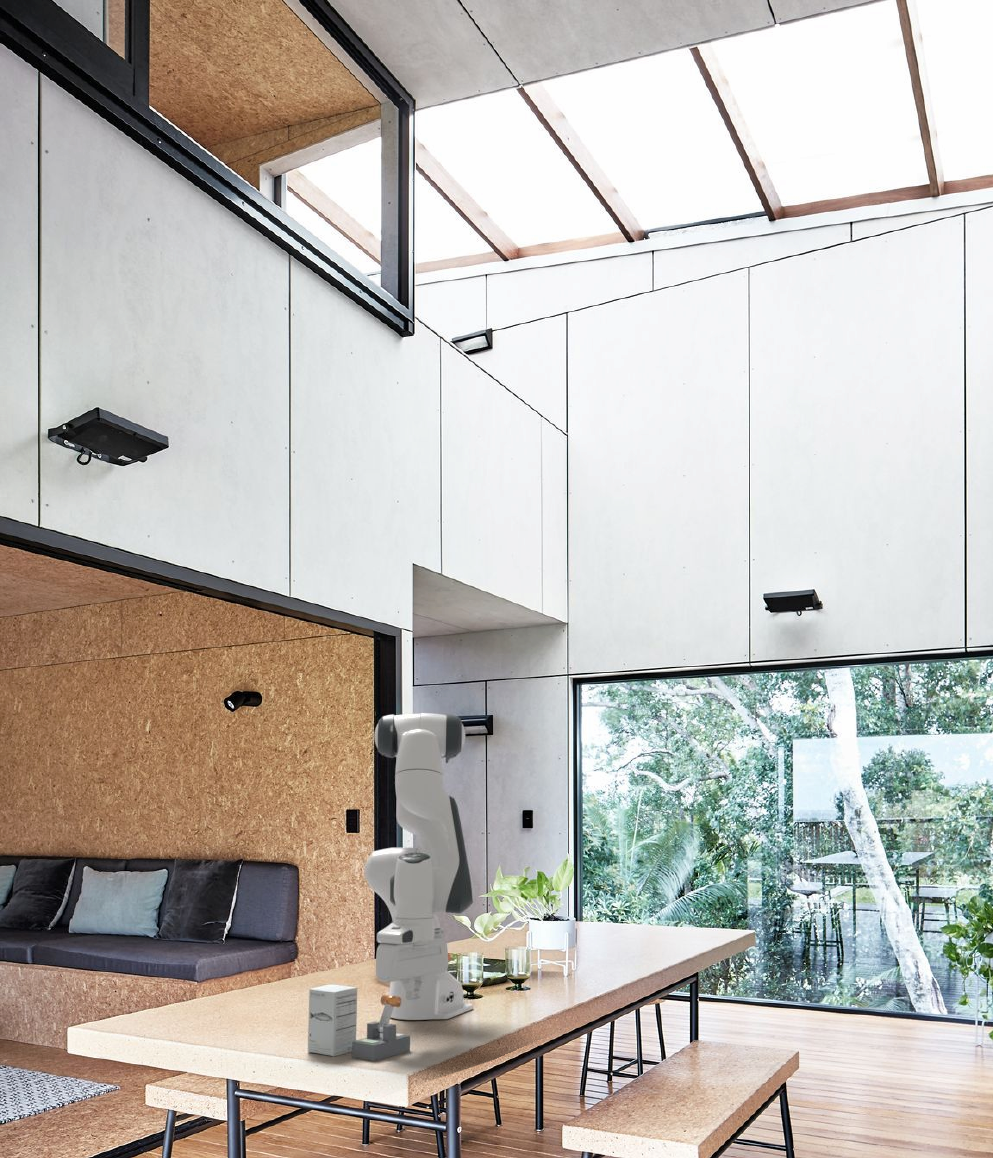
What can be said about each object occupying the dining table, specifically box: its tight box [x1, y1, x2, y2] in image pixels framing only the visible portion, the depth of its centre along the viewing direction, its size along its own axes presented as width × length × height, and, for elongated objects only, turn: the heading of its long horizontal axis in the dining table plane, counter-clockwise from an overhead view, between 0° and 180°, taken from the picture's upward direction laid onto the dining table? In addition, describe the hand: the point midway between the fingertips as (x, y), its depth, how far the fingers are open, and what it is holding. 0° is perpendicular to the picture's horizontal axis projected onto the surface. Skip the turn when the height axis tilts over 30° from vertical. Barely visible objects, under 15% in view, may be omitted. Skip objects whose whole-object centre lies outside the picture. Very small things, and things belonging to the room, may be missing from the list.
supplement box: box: [307, 984, 358, 1057], centre depth 237 cm, size 7×7×13 cm
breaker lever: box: [376, 994, 402, 1034], centre depth 236 cm, size 2×4×8 cm
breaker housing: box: [351, 1021, 411, 1062], centre depth 234 cm, size 11×6×6 cm, turn 144°
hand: (413, 998), depth 243 cm, fingers closed
